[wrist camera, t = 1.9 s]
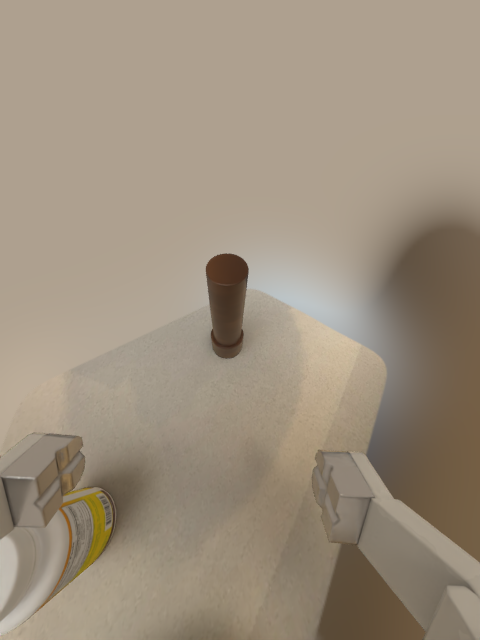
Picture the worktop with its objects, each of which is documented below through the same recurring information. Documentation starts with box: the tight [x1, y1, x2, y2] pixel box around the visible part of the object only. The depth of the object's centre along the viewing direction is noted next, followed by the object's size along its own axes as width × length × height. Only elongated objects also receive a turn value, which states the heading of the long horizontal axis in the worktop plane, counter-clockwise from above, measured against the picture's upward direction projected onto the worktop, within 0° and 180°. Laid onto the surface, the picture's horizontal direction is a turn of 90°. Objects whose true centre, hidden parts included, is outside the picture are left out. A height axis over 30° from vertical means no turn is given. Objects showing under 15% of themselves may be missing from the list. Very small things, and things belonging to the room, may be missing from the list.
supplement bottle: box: [0, 487, 116, 636], centre depth 15 cm, size 6×6×10 cm
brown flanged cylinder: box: [206, 254, 248, 358], centre depth 23 cm, size 4×4×14 cm
